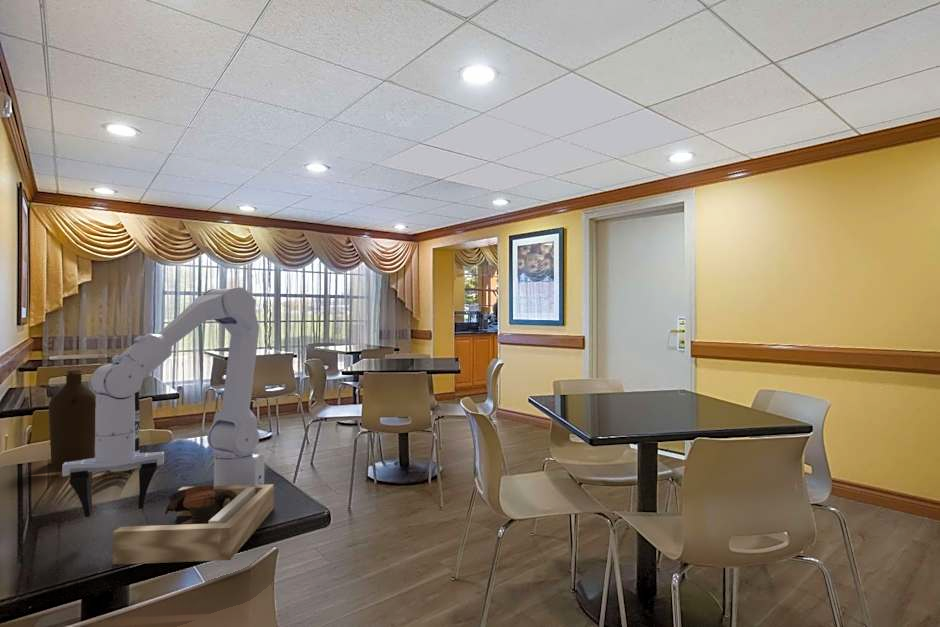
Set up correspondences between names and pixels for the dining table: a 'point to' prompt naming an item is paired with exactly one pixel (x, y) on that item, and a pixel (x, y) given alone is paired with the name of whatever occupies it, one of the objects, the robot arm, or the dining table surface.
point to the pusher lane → (194, 534)
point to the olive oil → (72, 421)
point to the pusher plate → (233, 506)
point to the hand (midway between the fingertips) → (115, 510)
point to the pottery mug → (199, 502)
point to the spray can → (137, 433)
